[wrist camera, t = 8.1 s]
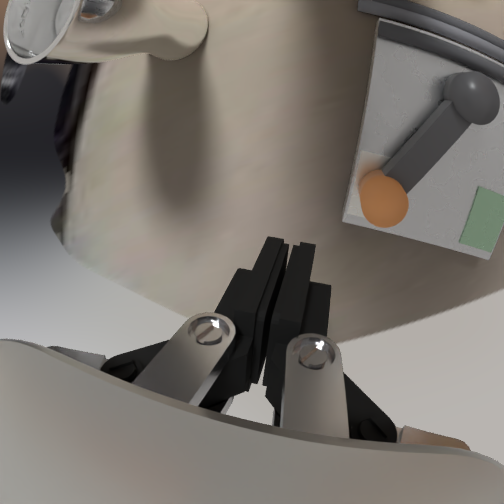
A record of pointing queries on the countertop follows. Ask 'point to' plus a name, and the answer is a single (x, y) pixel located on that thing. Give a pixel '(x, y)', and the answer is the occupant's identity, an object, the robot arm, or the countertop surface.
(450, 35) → the cord bundle
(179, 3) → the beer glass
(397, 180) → the breaker lever
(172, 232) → the countertop surface
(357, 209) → the panel
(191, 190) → the countertop surface
